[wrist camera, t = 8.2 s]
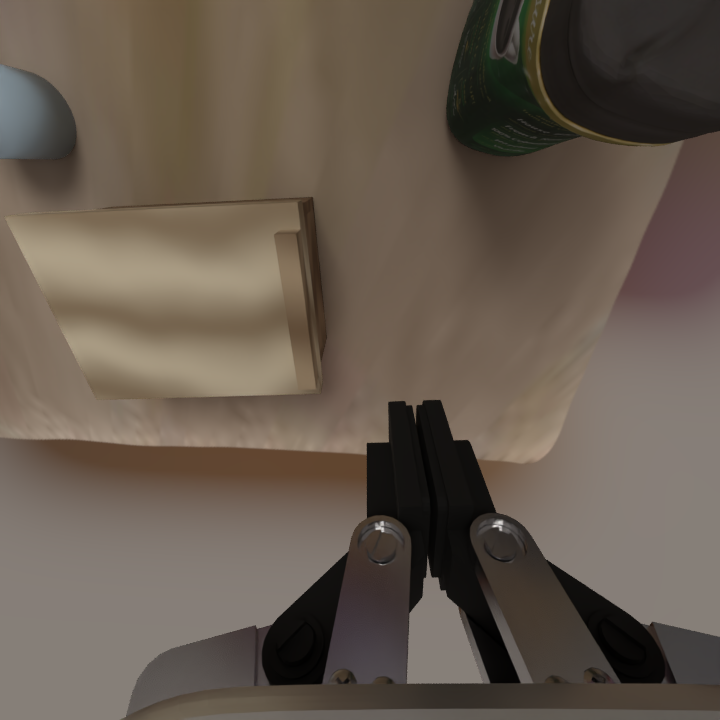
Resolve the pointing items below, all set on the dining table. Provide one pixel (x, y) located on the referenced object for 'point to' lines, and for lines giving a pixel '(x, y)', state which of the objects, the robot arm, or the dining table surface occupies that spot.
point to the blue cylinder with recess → (33, 117)
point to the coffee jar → (585, 73)
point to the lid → (180, 297)
